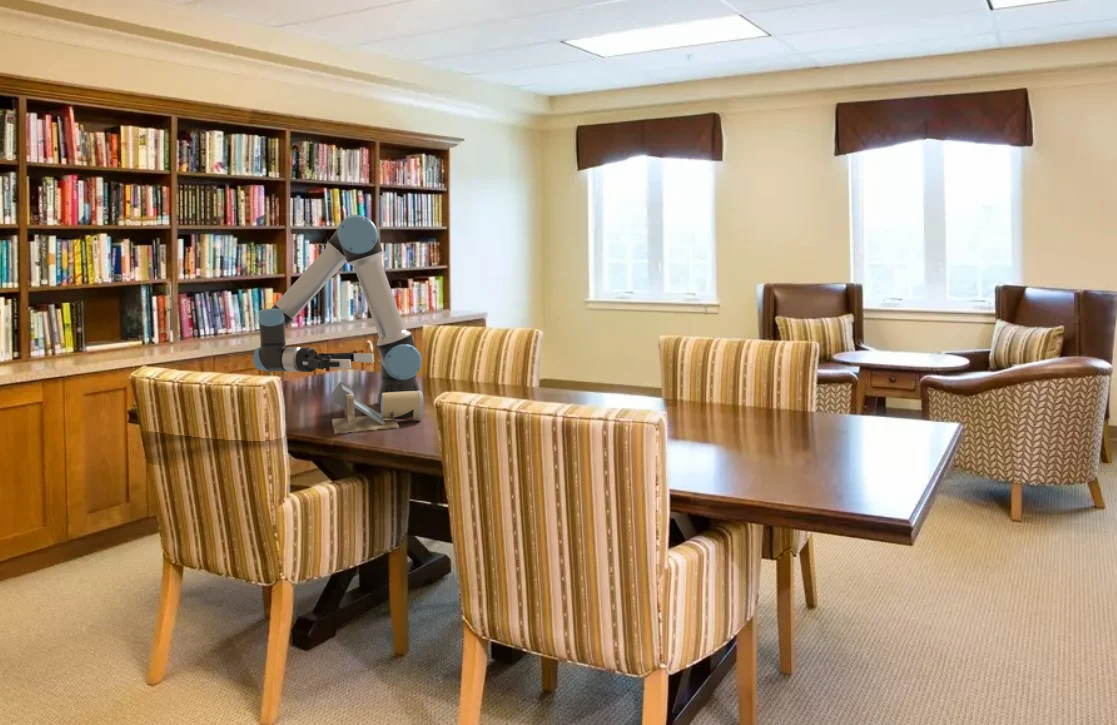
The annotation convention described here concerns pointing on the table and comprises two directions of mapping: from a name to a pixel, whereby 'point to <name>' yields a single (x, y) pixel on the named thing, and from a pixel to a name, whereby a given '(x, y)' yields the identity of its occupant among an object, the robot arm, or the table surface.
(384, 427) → the frame
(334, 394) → the trapdoor
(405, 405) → the coffee cup
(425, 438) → the table surface
